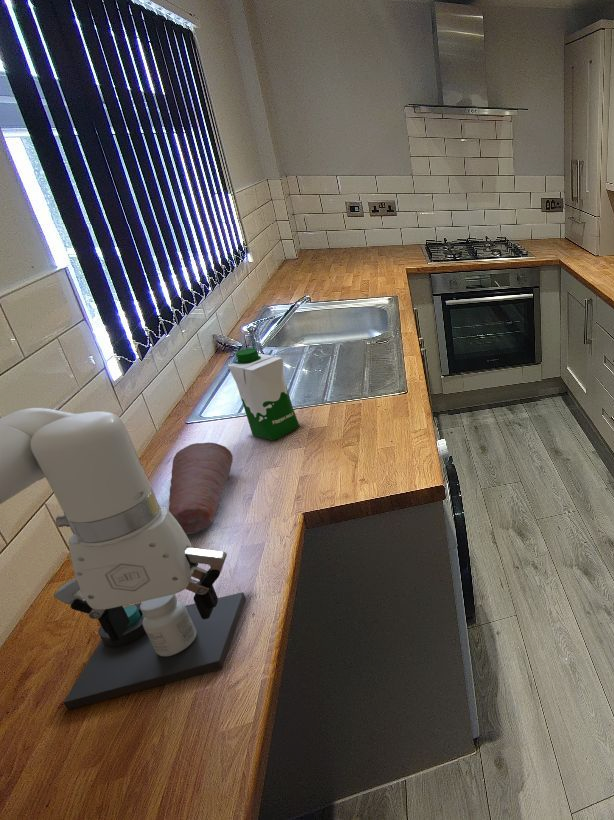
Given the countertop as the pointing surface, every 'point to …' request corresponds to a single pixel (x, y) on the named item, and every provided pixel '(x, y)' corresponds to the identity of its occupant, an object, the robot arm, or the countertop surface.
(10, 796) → the countertop surface
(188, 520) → the food
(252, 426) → the milk carton
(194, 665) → the scale
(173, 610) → the pill bottle
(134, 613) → the button
